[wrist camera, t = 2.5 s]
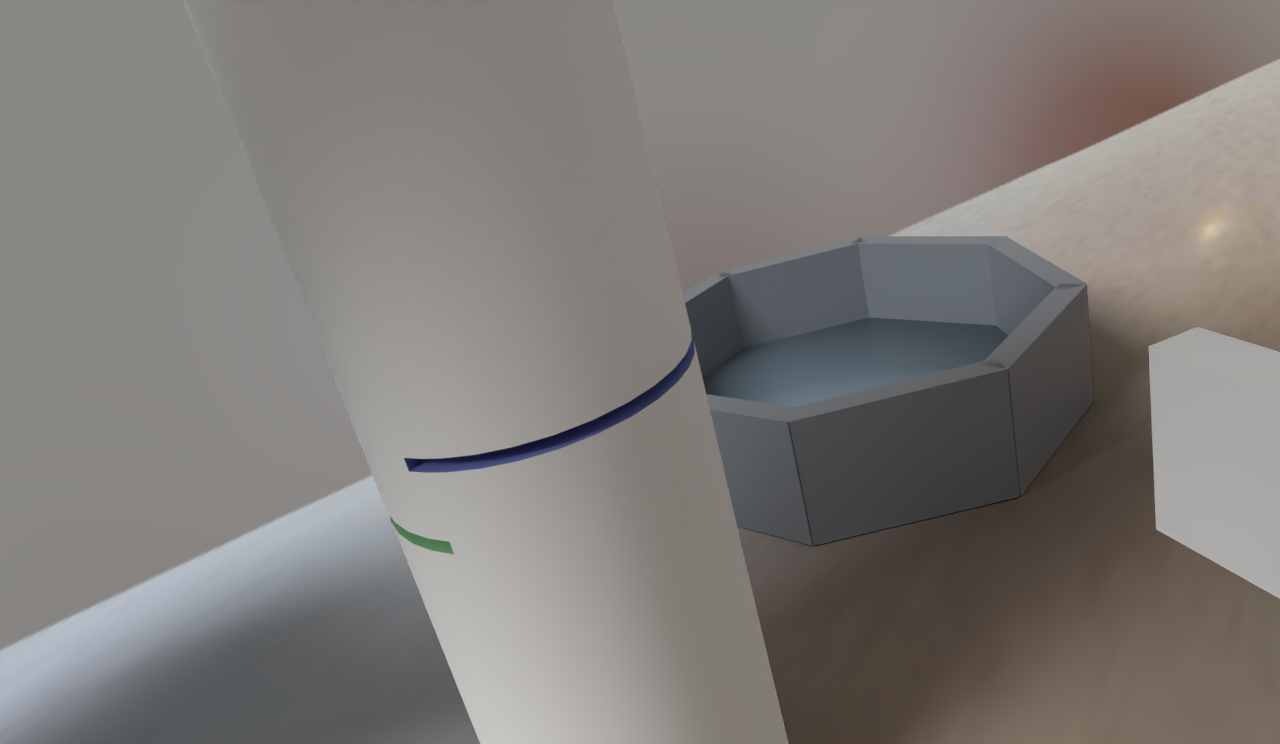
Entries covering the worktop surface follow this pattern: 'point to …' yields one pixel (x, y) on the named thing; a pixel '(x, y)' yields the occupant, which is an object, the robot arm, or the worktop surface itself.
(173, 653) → the worktop surface
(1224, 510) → the robot arm
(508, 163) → the cylindrical container
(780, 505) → the bowl
